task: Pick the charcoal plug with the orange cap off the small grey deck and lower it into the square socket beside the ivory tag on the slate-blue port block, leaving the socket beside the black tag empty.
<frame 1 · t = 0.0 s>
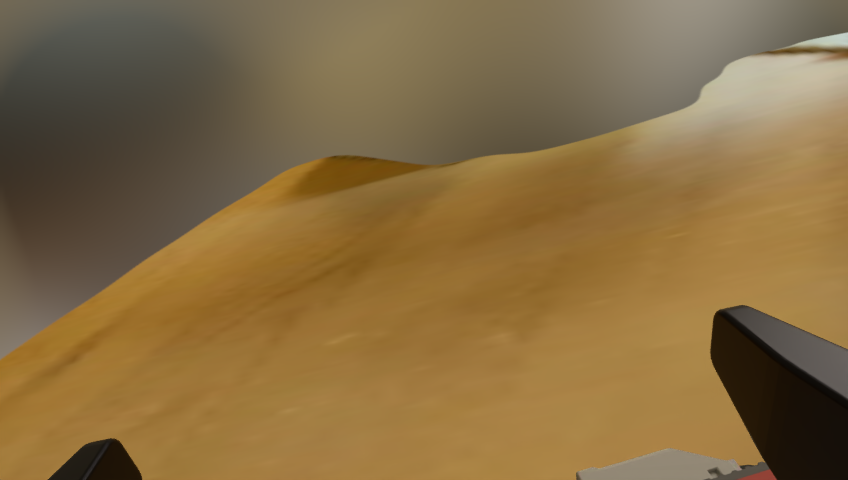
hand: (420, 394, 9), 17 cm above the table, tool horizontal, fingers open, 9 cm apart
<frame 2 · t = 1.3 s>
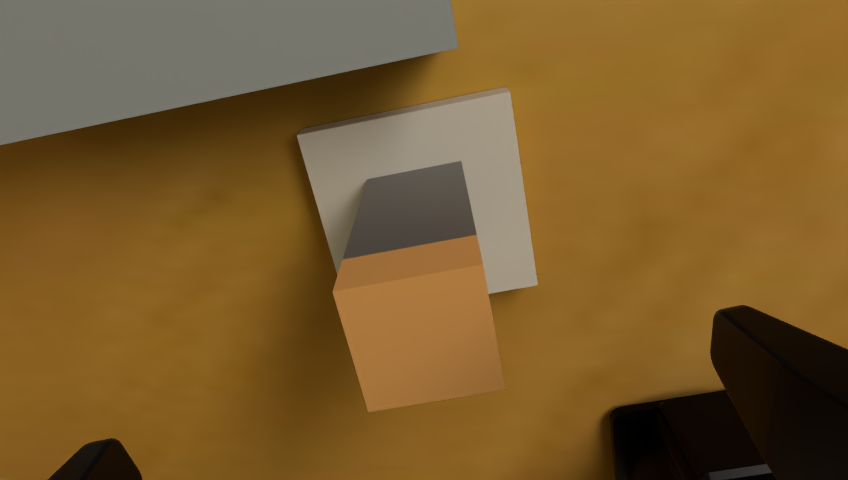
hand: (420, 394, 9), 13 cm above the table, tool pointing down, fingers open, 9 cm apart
plug: (423, 214, 20), point 1 cm above the table, touching deck
deck: (423, 204, 21), on the table
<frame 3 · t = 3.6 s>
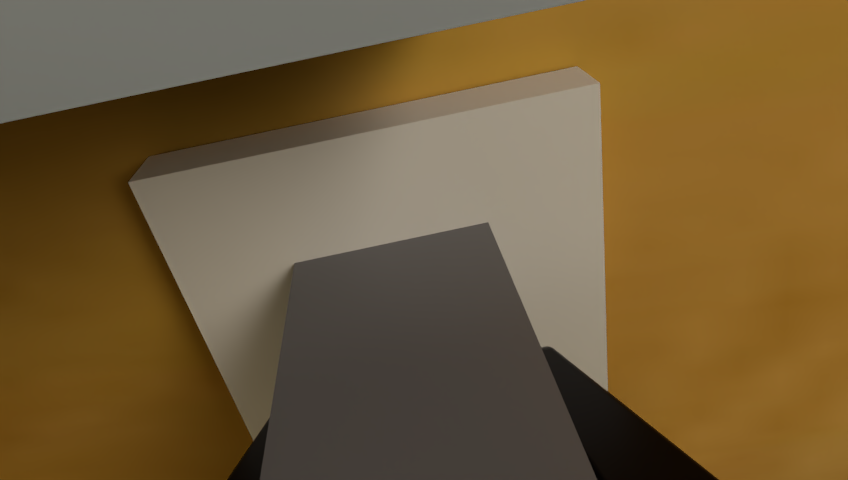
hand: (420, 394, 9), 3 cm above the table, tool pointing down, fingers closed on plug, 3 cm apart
plug: (410, 319, 10), point 1 cm above the table, touching deck, gripper
deck: (405, 287, 11), on the table
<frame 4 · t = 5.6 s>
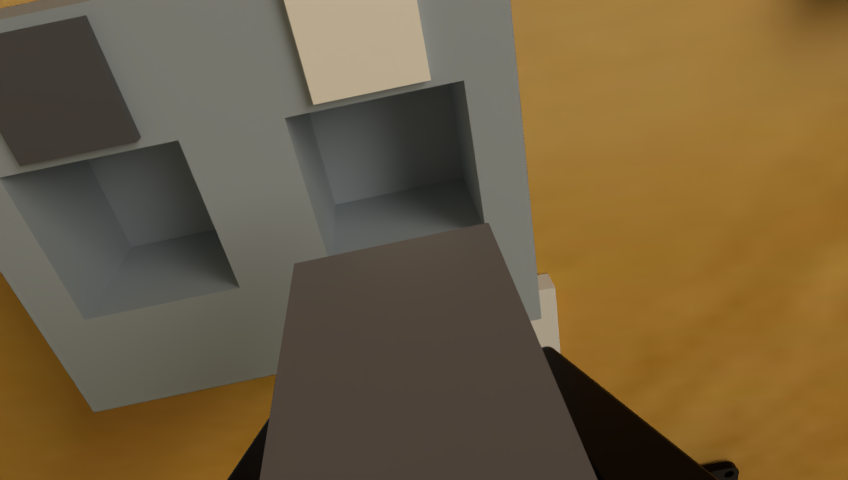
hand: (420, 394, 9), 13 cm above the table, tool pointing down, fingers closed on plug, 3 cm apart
plug: (410, 319, 10), point 11 cm above the table, touching gripper
port block: (281, 141, 20), on the table
deck: (473, 356, 25), on the table
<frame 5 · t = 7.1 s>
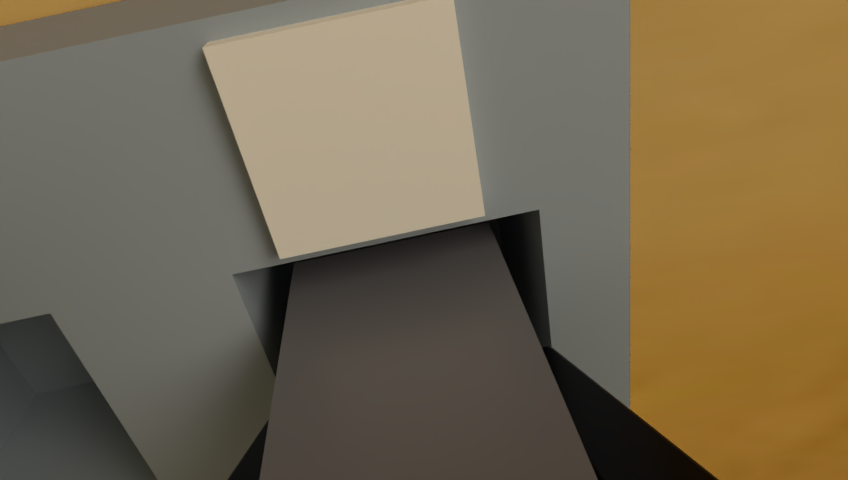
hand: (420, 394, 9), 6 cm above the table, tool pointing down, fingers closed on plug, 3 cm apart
plug: (410, 319, 10), point 4 cm above the table, touching gripper
port block: (247, 244, 14), on the table
when the fingers open (6 cm above the table, at t = 7.8 s): plug drops 3 cm, resting on port block.
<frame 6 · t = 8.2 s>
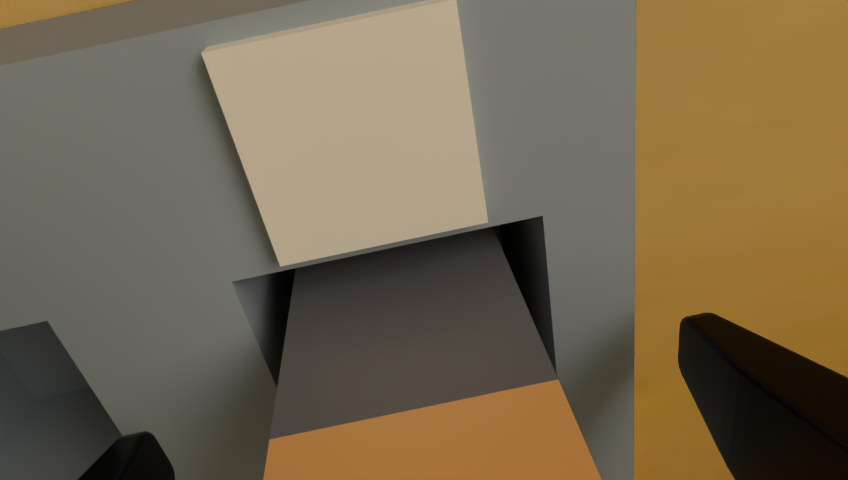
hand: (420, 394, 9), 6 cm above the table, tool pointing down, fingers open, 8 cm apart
plug: (400, 239, 13), point 1 cm above the table, touching port block
port block: (247, 249, 14), on the table
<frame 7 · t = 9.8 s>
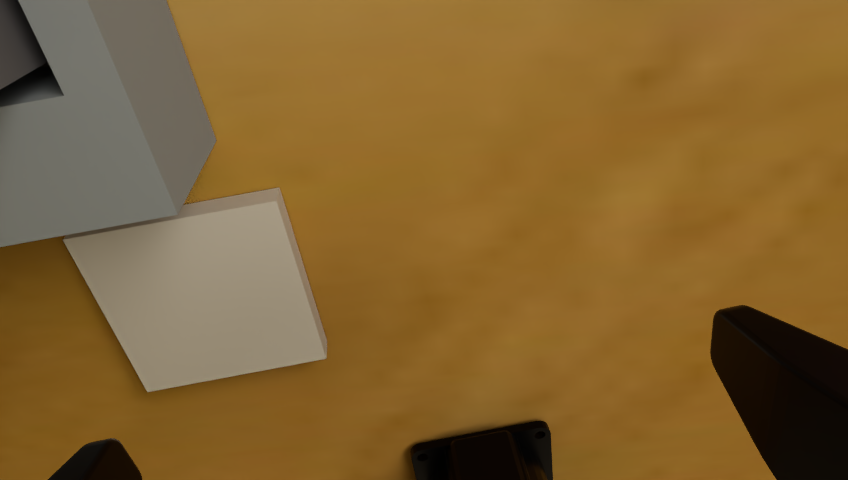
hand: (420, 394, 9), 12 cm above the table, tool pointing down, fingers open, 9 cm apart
deck: (212, 288, 22), on the table
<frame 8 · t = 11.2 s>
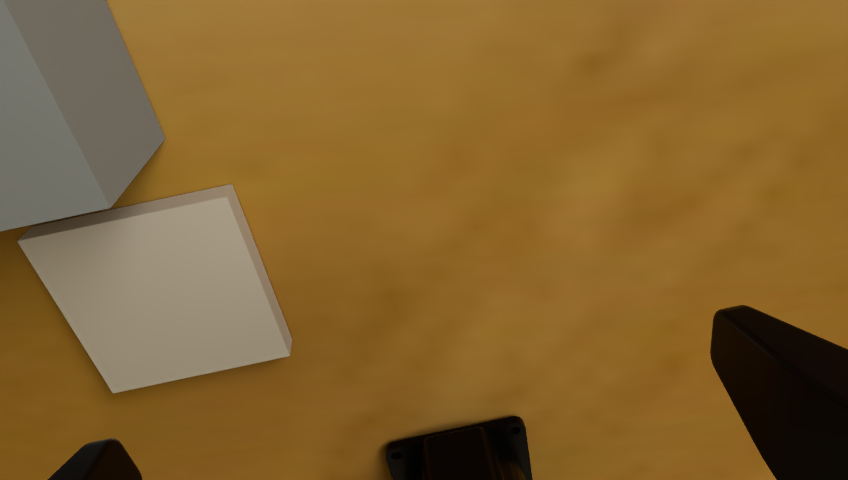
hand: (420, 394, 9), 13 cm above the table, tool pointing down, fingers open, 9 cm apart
deck: (172, 287, 22), on the table
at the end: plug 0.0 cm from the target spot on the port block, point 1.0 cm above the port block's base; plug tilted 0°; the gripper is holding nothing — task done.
